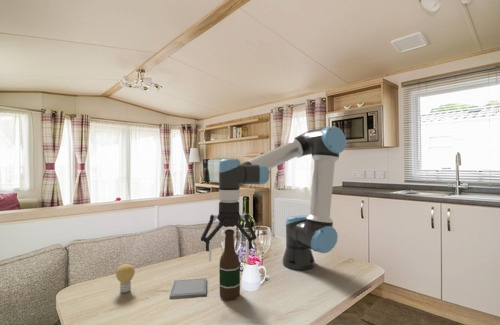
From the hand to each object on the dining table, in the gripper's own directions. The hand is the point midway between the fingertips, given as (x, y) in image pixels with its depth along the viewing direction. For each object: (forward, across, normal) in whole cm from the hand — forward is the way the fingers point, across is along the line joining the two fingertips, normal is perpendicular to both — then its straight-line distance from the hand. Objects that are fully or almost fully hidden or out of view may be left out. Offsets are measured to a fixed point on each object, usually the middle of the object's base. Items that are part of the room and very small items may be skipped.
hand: (228, 259), depth 96 cm
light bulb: (+14, +38, -10) cm, 42 cm away
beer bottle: (+14, 0, 0) cm, 14 cm away
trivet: (+14, +15, -8) cm, 21 cm away
